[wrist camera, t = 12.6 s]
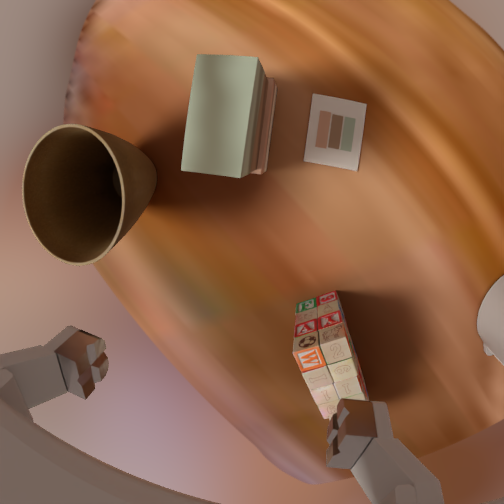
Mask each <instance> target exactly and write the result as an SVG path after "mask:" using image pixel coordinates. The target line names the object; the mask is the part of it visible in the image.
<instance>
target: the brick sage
mask: <svg viewBox="0 0 504 504" xmlns="http://www.w3.org/2000/svg"><path fill="white" fill-rule="evenodd" d="M264 74H265V72H264V69H263V67H262V65H261V63H260V61H259V58H258V57H248V56H233V55H207V54H197V58H196V63H195V69H194V75H193V81H192V88H191V94H190V101H189V108H188V115H187V122H186V130H185V138H184V146H183V155H182V164H181V171H189V172H198V173H206V174H213V175H221V176H228V177H235V178H242V177H244V176H246V175H248V174H250V170H251V163H252V156H253V149H254V142H255V135H256V128H257V121H258V114H259V107H260V100H261V94H262V87H263V80H264Z"/></svg>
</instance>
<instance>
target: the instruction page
mask: <svg viewBox="0 0 504 504" xmlns="http://www.w3.org/2000/svg"><path fill="white" fill-rule="evenodd" d="M366 106H367V104H364V103H360V102H355V101H351V100H346V99H341V98H336V97H330V96H325V95H319V94H313V95H312V103H311V111H310V118H309V126H308V133H307V140H306V147H305V154H304V161H305V162H311V163H317V164H323V165H328V166H333V167H339V168H344V169H349V170H354V171H357V169H358V163H359V157H360V150H361V143H362V136H363V129H364V122H365V114H366Z"/></svg>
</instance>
